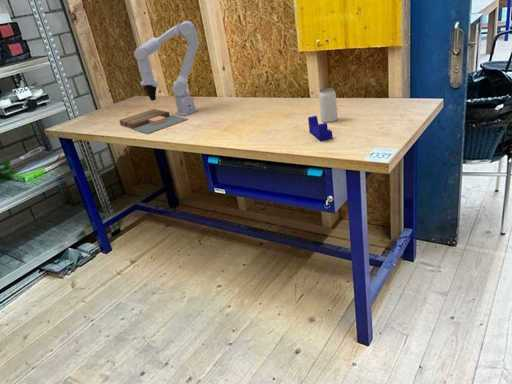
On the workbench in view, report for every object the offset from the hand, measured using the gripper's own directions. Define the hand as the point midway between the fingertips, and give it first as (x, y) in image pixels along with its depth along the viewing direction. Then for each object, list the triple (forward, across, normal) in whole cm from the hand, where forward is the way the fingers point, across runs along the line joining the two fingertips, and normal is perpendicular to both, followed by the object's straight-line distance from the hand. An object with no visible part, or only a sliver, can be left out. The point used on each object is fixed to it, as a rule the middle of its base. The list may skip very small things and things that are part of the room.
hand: (153, 100), depth 213 cm
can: (+9, +90, +26) cm, 94 cm away
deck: (+9, -2, -6) cm, 11 cm away
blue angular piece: (+10, +98, +11) cm, 100 cm away
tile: (+9, +10, -6) cm, 15 cm away
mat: (+9, +14, -7) cm, 18 cm away
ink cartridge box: (+9, -16, +27) cm, 33 cm away
